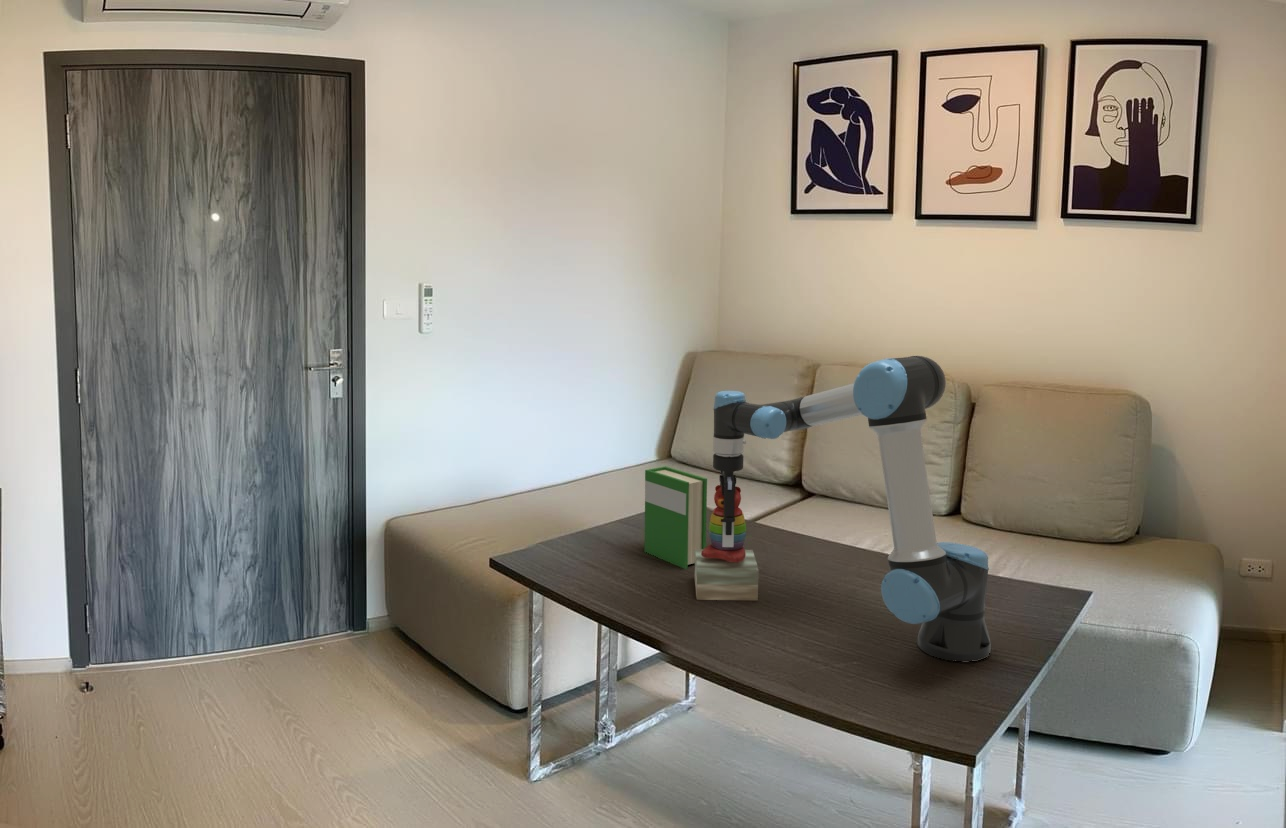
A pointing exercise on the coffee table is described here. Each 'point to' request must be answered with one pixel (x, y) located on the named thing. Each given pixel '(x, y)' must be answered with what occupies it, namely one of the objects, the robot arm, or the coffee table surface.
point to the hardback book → (675, 515)
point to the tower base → (726, 592)
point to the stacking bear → (716, 531)
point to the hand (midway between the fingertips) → (726, 540)
